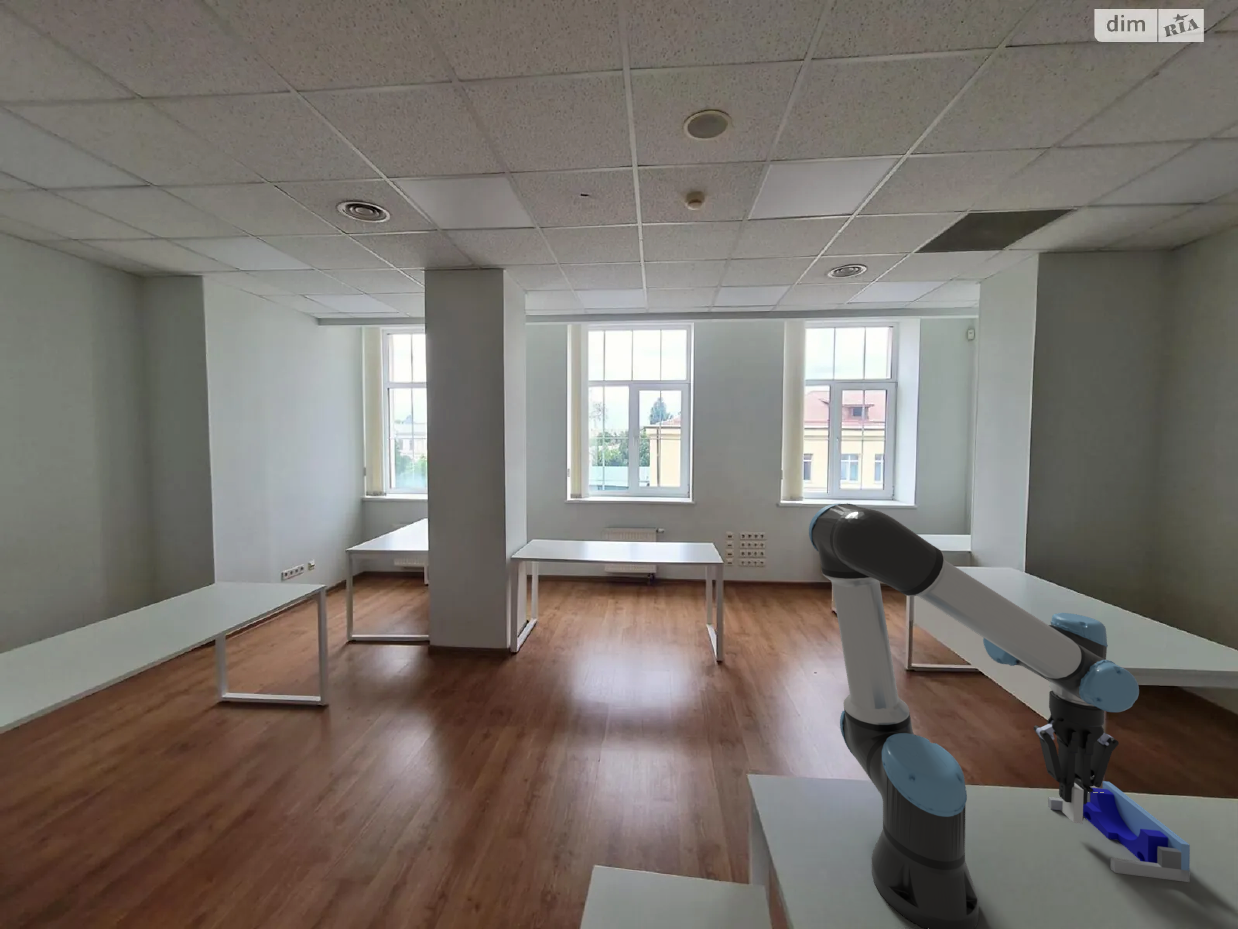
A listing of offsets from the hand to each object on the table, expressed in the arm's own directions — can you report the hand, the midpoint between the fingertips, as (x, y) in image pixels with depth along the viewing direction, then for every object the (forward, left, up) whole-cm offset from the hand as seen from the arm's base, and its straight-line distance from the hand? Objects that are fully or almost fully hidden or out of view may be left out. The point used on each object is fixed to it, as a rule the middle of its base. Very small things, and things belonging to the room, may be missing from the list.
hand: (1072, 817), depth 88 cm
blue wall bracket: (+7, 0, -4) cm, 8 cm away
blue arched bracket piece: (+9, +1, -4) cm, 9 cm away
